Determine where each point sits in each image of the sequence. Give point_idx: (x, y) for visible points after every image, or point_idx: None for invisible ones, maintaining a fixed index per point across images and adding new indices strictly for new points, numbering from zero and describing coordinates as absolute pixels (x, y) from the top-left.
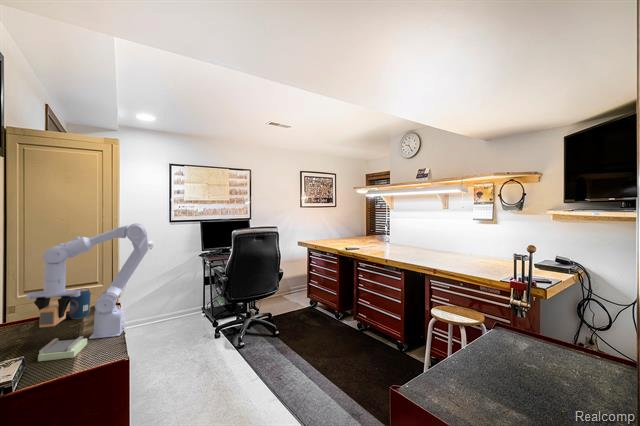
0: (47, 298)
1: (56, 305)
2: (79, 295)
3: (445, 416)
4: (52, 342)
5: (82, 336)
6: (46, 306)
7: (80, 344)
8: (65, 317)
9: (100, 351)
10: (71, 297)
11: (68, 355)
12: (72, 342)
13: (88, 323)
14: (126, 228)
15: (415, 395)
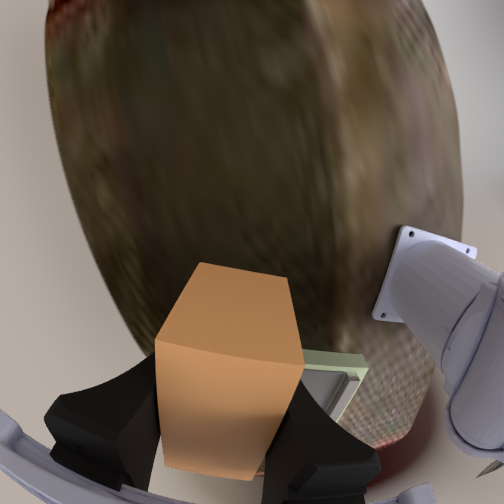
0: (130, 470)
1: (234, 435)
2: (418, 491)
3: (478, 476)
4: None
5: (357, 385)
6: (161, 428)
7: (346, 406)
8: (286, 282)
9: (383, 406)
10: (363, 478)
11: None
12: (325, 392)
13: (347, 71)
14: None
15: (490, 465)
